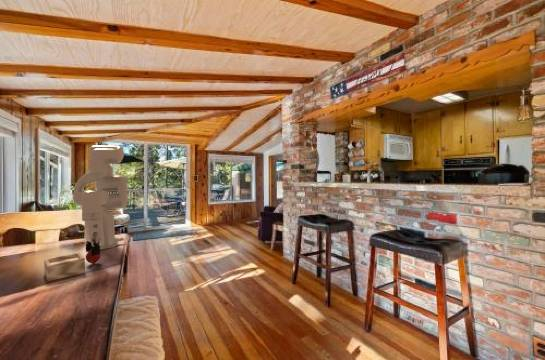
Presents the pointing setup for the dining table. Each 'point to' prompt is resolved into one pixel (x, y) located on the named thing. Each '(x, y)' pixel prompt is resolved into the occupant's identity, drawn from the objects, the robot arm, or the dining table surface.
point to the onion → (92, 257)
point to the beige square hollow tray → (64, 266)
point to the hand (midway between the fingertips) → (92, 253)
